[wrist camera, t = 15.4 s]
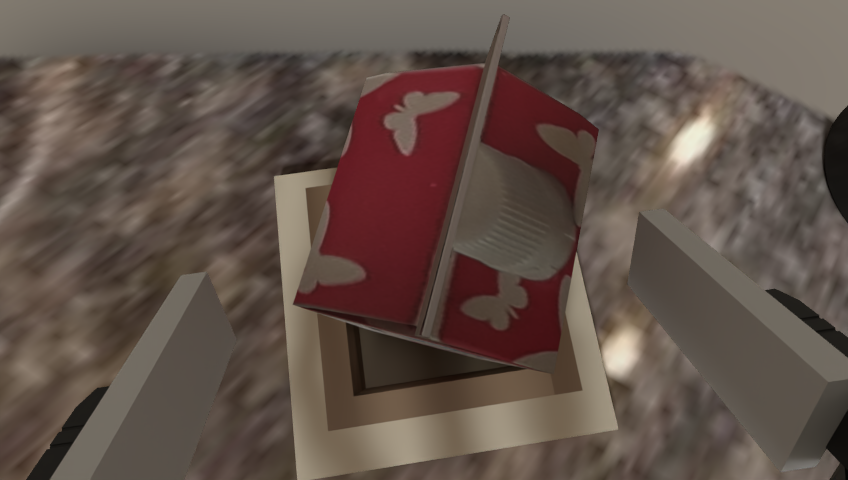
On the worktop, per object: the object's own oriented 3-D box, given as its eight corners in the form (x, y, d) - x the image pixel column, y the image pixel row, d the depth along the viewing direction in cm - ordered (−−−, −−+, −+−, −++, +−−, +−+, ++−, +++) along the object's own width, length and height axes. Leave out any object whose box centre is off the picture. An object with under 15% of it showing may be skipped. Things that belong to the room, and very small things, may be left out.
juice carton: (495, 259, 30) (662, 48, 9) (473, 358, 29) (610, 385, 7) (401, 236, 31) (346, -21, 9) (374, 331, 29) (236, 286, 8)
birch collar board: (545, 143, 33) (571, 100, 28) (612, 426, 29) (659, 446, 23) (278, 181, 33) (246, 145, 27) (301, 477, 28) (269, 510, 22)
